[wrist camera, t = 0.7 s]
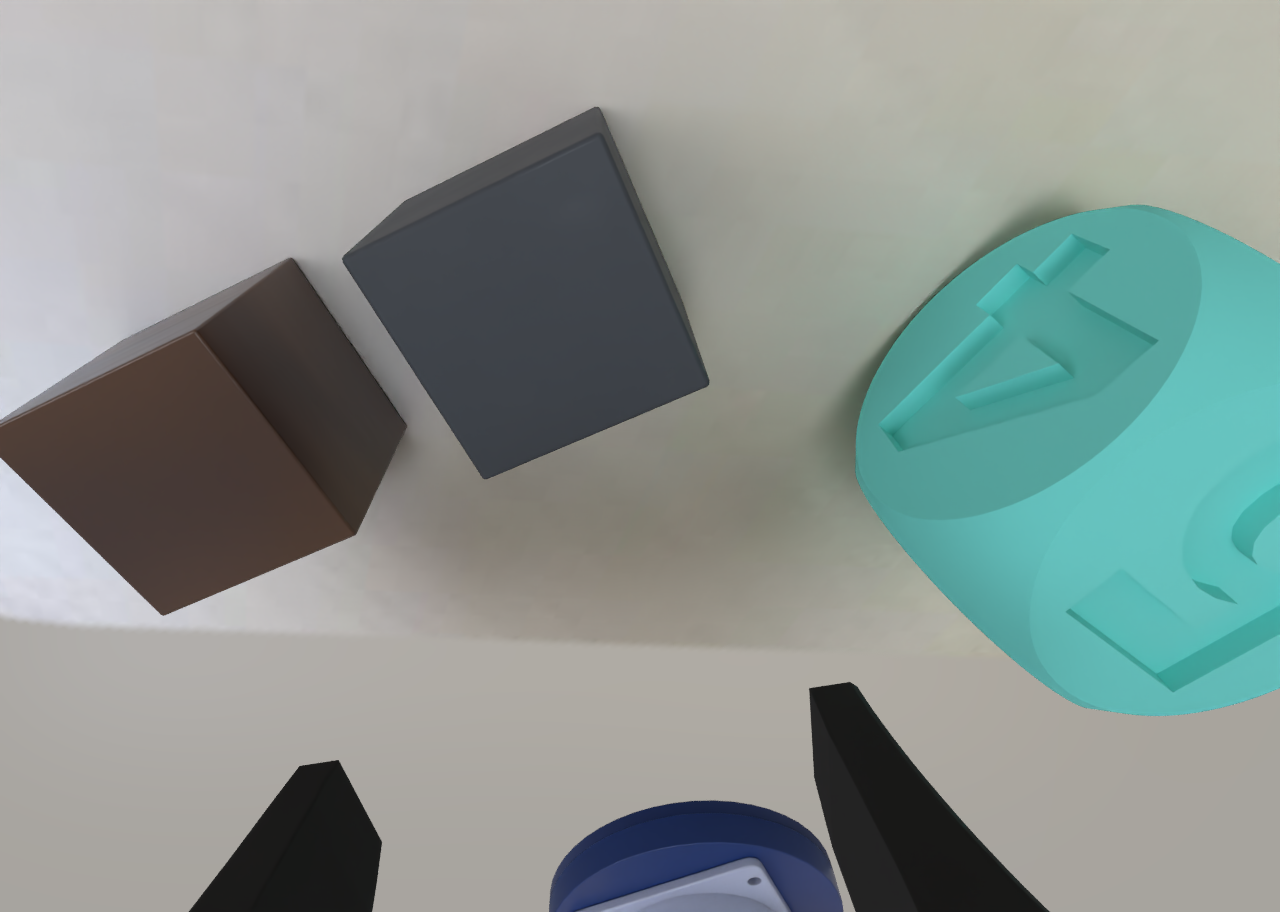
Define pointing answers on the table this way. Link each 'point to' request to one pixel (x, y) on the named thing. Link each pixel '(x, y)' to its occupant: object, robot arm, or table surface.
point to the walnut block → (212, 441)
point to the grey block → (532, 297)
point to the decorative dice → (1097, 457)
